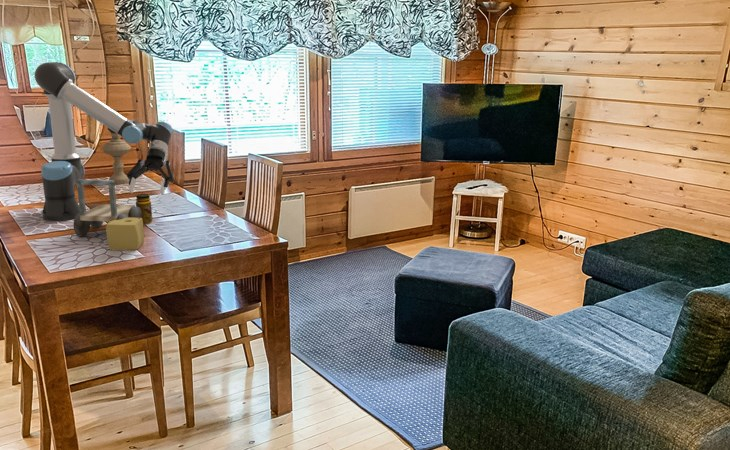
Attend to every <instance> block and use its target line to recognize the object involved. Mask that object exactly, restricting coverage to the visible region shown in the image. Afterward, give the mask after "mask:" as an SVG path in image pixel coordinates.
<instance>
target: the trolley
mask: <svg viewBox="0 0 730 450" xmlns="http://www.w3.org/2000/svg"><path fill="white" fill-rule="evenodd" d="M76 181H77V184H76V189H77V198H78V205H79V208H80V213H78V214H77V215H76V216H75V218H74V219H73V231H74V233H75V235H76V236H78V237H86V236H88V234H89V232H90V229H91V227H92V228H101V227H102V226H103V224H104V222H111V221H113V220H120V219H123V218H142V212H141V209H140V208H139V207H136V204H133V205H132V204H117V199H116V198H117V197H116V189H115V188H116V186H115V185H116V184H114V180H109V179H83V178H82V179H78V180H76ZM84 185H88V186H89V185H92V186H108V194H109V204H106V203H101V204H99V205H92V206H91V207H90V209H89V210H87V206H86V199H85V197H86V196H85V190H84V189H85V188H84Z"/></svg>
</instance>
